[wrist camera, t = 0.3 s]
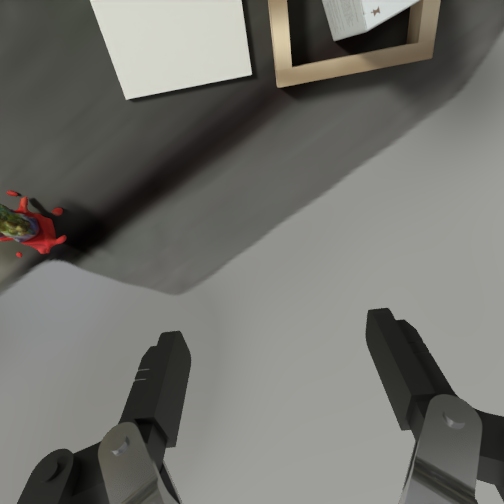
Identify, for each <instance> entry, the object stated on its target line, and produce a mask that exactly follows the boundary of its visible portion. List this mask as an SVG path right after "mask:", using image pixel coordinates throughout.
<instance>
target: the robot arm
mask: <svg viewBox="0 0 504 504" xmlns="http://www.w3.org/2000/svg"><path fill="white" fill-rule="evenodd" d="M366 342H367V346H368V349H369V351H370V354H371V356H372V359H373V361H374V364H375V366H376V369H377V371H378V374H379V376H380V379H381V381H382V384H383V386H384V389H385V391H386V393H387V396H388V398H389V401H390V403H391V406H392V408H393V411H394V413H395V416H396V418H397V421H398V423H399V426H400V428H401V430H411V431H412V433H413V435H414V438H415V440H416V441H415V445H414V448H413V452H412V456H411V459H410V464H409V467H408V471H407V474H406V478H405V482H404V486H403V489H402V493H401V497H400V500H399V503H398V504H478V503H477V500H476V499H475V486H476V479H477V480H480V481H484V482H487V483H490V484H494V485H495V486H496V488H497V490H498V492H499V494H500V496H501V497H502V499H503V501H504V417H502V416H498V415H493V414H489V413H485V412H482V411H479V410H477V409H474V408H473V407H471V406H470V405H469V404H468V403H467V402H465V401H464V400H462V399H460V398H459V397H458V396H457V395H456V394H455V392H454V391H453V390H452V388H451V386H450V385H449V383H448V382H447V380H446V378H445V376H444V375H443V373H442V372H441V370H440V368H439V367H438V365H437V363H436V362H435V360H434V358H433V357H432V355H431V354H430V353H429V350H428V348H427V347H426V345H425V344H424V343H423V341H422V339H421V337H420V335H419V334H418V332H417V330H416V329H415V328H414V327H413V326H411V325H410V324H409V323H408V322H406V321H405V320H395V319H394V316H393V314H392V313H391V311H390V310H389V309H388V308H381V309H373V310H368V314H367V324H366ZM190 367H191V355H190V351H189V349H188V347H187V344H186V342H185V340H184V338H183V336H182V333H181V332H180V331H172V332H164V333H162V334H161V335H160V337H159V341H158V344H157V346H152V347H150V348H149V349H148V351H147V352H146V354H145V355H144V356H143V357H142V360H141V363H140V366H139V368H138V372H137V374H136V377H135V382H134V383H133V386H132V388H131V391H130V394H129V396H128V399H127V402H126V405H125V408H124V411H123V413H122V417H121V419H120V421H119V423H118V425H116V426H115V427H113V428H112V429H111V430H110V431H109V432H108V433H107V434H106V435H105V437H104V438H103V440H102V441H101V442H99V443H97V444H95V445H92V446H90V447H88V448H85V449H83V450H81V451H79V452H76V453H74V454H73V453H72V452H71V451H69V450H68V449H58V450H56V451H53V452H51V453H50V454H48V455H47V456H46V457H44V458H43V459H42V460H41V461H40V462H39V463H38V465H37V466H36V467H35V469H34V470H33V472H32V473H31V475H30V477H29V479H28V481H27V484H26V486H25V488H24V490H23V492H22V494H21V496H20V498H19V500H18V502H17V504H183V503H182V500H181V498H180V496H179V494H178V491H177V489H176V487H175V484H174V482H173V480H172V478H171V475H170V473H169V471H168V469H167V466H166V464H165V462H164V460H163V458H164V454H165V449H166V448H170V447H175V446H176V441H177V435H178V430H179V424H180V420H181V414H182V409H183V404H184V399H185V394H186V388H187V383H188V378H189V372H190Z"/></svg>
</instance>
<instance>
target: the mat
mask: <svg viewBox="0 0 504 504" xmlns="http://www.w3.org/2000/svg"><path fill="white" fill-rule="evenodd" d="M90 2H91V4H92V7H93V10H94V13H95V15H96V18H97V21H98V24H99V26H100V29H101V32H102V35H103V37H104V40H105V43H106V46H107V48H108V51H109V54H110V57H111V59H112V62H113V65H114V68H115V70H116V73H117V76H118V79H119V81H120V84H121V87H122V89H123V92H124V95H125V98H126V100H127V99H132V98H137V97H142V96H147V95H152V94H157V93H162V92H167V91H172V90H177V89H183V88H188V87H193V86H198V85H203V84H208V83H213V82H218V81H223V80H228V79H233V78H238V77H243V76H248V75H252V71H251V64H250V57H249V50H248V43H247V36H246V29H245V22H244V15H243V8H242V1H241V0H90Z"/></svg>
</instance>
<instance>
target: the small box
mask: <svg viewBox="0 0 504 504" xmlns="http://www.w3.org/2000/svg"><path fill="white" fill-rule="evenodd" d="M419 1H420V0H322V2H323V6H324V9H325V12H326V16H327V19H328V23H329V26H330V29H331V33H332V37H333V40H334V41H338V40H341V39H344V38H347V37H351V36H354V35H358V34H362V33H365V32H367V31H369V30H371V29H373V28H374V27H376V26H378V25H379V24H381V23H383V22H385V21H386V20H388V19H390V18H391V17H393V16H395V15H397V14H398V13H400V12H402V11H403V10H405V9H407V8H409V7H410V6H412V5H414V4H415V3H417V2H419Z"/></svg>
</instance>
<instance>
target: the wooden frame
mask: <svg viewBox="0 0 504 504" xmlns="http://www.w3.org/2000/svg"><path fill="white" fill-rule="evenodd" d="M440 2H441V0H420V1H419V2H417V3H415V4H414V5H412V6H410V15H409V25H408V34H407V44H404V45H399V46H394V47H389V48H384V49H379V50H374V51H369V52H364V53H359V54H354V55H349V56H344V57H339V58H333V59H328V60H323V61H318V62H313V63H308V64H303V65H298V66H293V67H292V60H291V47H290V34H289V21H288V8H287V0H268V6H269V15H270V25H271V35H272V44H273V54H274V63H275V73H276V83H277V87H278V88H280V87H285V86H291V85H296V84H301V83H306V82H312V81H317V80H322V79H327V78H332V77H338V76H343V75H348V74H353V73H359V72H364V71H369V70H374V69H379V68H385V67H390V66H395V65H400V64H406V63H411V62H416V61H421V60H426V59H432V55H433V49H434V42H435V35H436V28H437V22H438V15H439V8H440Z"/></svg>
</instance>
